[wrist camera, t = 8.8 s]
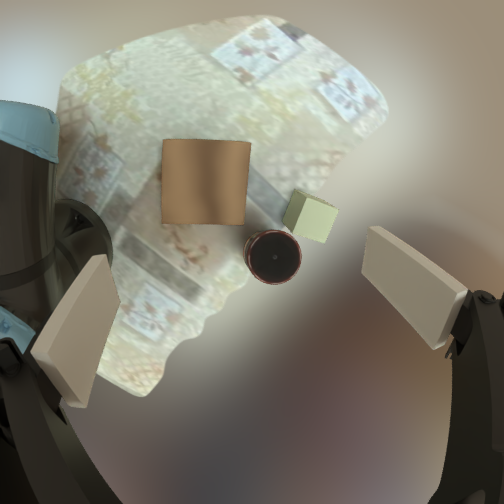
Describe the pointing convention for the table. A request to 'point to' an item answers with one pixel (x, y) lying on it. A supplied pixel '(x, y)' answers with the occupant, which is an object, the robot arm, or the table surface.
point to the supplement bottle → (272, 256)
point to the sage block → (309, 216)
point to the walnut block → (204, 181)
